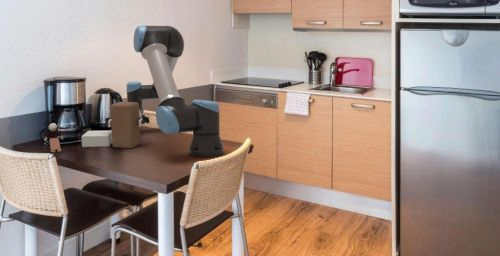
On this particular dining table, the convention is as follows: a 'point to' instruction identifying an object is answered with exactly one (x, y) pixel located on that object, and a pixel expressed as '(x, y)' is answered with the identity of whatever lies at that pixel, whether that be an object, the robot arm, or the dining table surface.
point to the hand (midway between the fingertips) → (124, 124)
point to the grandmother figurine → (53, 138)
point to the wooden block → (125, 124)
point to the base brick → (97, 139)
